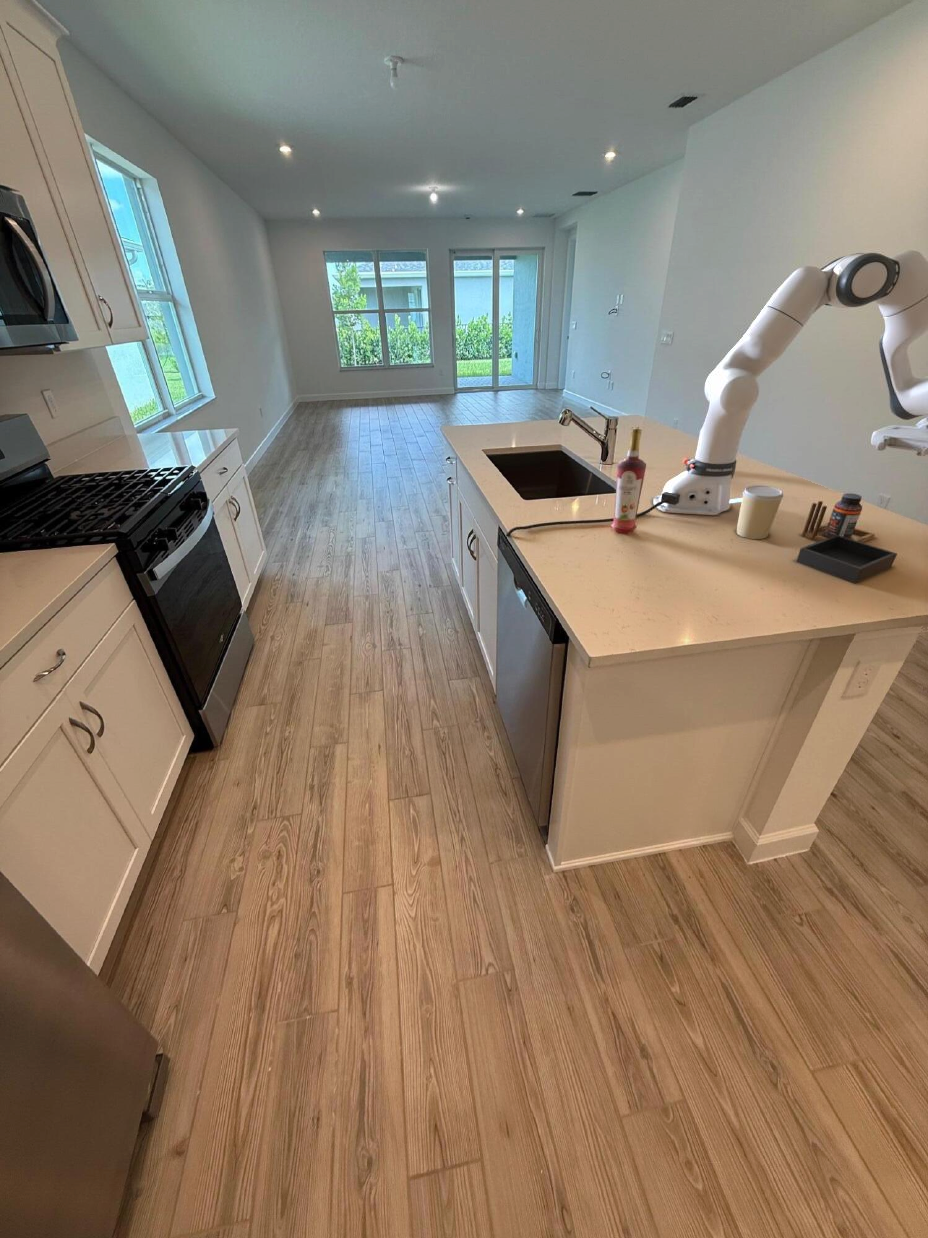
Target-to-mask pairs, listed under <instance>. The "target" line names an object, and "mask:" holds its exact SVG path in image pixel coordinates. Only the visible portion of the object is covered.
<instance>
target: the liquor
mask: <svg viewBox="0 0 928 1238" xmlns="http://www.w3.org/2000/svg"><path fill="white" fill-rule="evenodd" d="M642 430H643V427H639V426H632V427H631V428H630V442H629V447H628V451H627V455H626V457H625V458H624V459H621V460H620V461H619V462H618V463H617V466H616V467H617V470H616V481H615V498H614V499H615V501H614V512H613V518H614V521H612V524H611V528H612V529H613V530H614V531H615V532H616V533H618V534H623V535H625V534H630V533H632V532H633V531H635V530H636V529H637V525H636V521H637V517H636V516H637V514H638V512H639V511H638V510H639V505H640V499H641V494H642V489H643V485H644V480H645V474H646V469H647V463H646V462H645V461H644V460H643V459H641V458H640V440H641V437H642Z"/></svg>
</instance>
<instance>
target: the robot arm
mask: <svg viewBox="0 0 928 1238" xmlns="http://www.w3.org/2000/svg"><path fill="white" fill-rule="evenodd" d="M873 302H875V304H876V305H877V306H878V308H879V311H880V313H881V315H882V318H883V321H884V332H883V333H882V334H881V335H880V338H879V342H878V343H879V344H878V348H879V355H880V359H881V364H882V369H883V372H884V373H883V374H884V376H885V380H886V386H887V388H888V394H889V395H888V396H889V408H890V412H891V413H892V414H893V415H894V416H896V417H897V418H899V419H901V420H905V421H910V420H913V419H916V418H919V417H922V416H925V415H927V414H928V375H926V376H924V377H916V376H914V375H913V373H912V369H911V364H910V358H909V354H908V348H909V346H910V345H911V344H913V342H915V341H916V340H918V339H919V338H920V337H921V336H923V335H924V334H925V333H927V332H928V260H927V258H926V257H924V255H923V254H922V253H921V252H920V251H918V250H914V249H912V250H911V249H910V250H906V251H902V252H900V253H897V254H895V255H893V256H892V257H888V256H886V255H885V254H882V253H877V252H867V253H865V252H856V253H853V254H849V255H845V256H841V257H838V258H836V259H834V260H833V261H831V262H829V263H828V264H826V265H825V266H823V267H821V268H820V267H818V266H812V265H805V266H801V267H798V268H797V269H796V270H795V271H793V272H792V273H791V274H790V276H788V277H787V279H785V281H784V282H783V283H782V284H781V285H780V286H779V288H778V289H777V290H776V291H775V292H774V293H773V295H771V297H770V298H769V300H768V301H767V302H766V304H765V305H764V307H763V308H762V310H761V311H760V313H759V314H758V315H757V316H756V318H755V319H754V321H753V322H752V323H751V325H750V326H749V328H747V330H746V332H745V333H744V334H743V336H742V337H741V338H740V339H739V341H738V342H737V343H736V344H735V345H733V347H732V348H731V349H730V351H729V352H727V354H726V355H725V356H724V358H723V359H722V360H721V361H720V362H719V363H718V364H717V366H716V367H715V368H714V370H713V371H711V372H710V373H709V375H708V376H707V378H706V380H705V383H704V395H705V398H706V400H707V401H708V402H709V405H708V410H707V414H706V416H705V419H704V422H703V426H702V427H701V429H700V430H699V435H698V441H697V445H696V451H695V456H694V457H693V458H691V459H690V458H689V457H684V458H683V459H682V464H683V465H684V466H686V468H685V470H684V471H683V472H681V473H679V474H678V475H676V476H674V477H673V478H670V479H669V480H668V481H667V482H665V485H664V486H663V489H662V491H661V494H657V495H655V496H654V497H653V500H652V502H653V505H652V506H651V507H649V508H648V509H646V510H644V511H642V512H639V513H637V516H636V518H639V517H642V516H644V515H646V514H648V513H651V512H652V511H653V510H655V509H658V510H659V511H661V512H663V513H670V514H685V515H686V514H687V515H703V516H718V515H719V514H720V513H723V512H726V511H728V510H730V508H731V504H735V503H742V498H743V497H739V498H732V499H731V485H732V480H733V478H734V475H735V472H736V468H737V459H736V458H737V455H738V450H739V446H740V443H741V438H742V435H743V431H744V428H745V426H746V424H747V421H748V419H749V417H750V415H751V412H752V409H753V406H754V405H755V404H756V403H757V401H758V398H759V395H760V387H759V386H760V385H759V383H758V378H759V377H760V376H761V375H762V374H763V373H764V372H765V371H766V370H767V369H768V368H769V367H770V366H771V365H772V364H773V363H775V362H776V361H778V359H779V358H781V356H782V355H783V354H784V352H785V351H786V350H787V349H788V347H789V346H790V345H791V344H792V342H793V341H794V340H795V339H796V337H797V336H798V334H799V333H800V332H801V331H802V329H803V328H804V327H805V325H806V324H807V322H808V321H810V318H811V317H812V316H813V314H815V313H816V312H817V311H818V310H819V309H820V308H821V307H823V306H830V307H835V308H839V309H846V308H859V307H862V306H863V307H864V306H866V305H868V304H871V303H873ZM870 444H871V446H874V447H875V451H880V452H881V451H882V452H883V451H884V450H885V451H886V450H887V448H889V449H897V450H904V451H911V452H912V451H913V452H917V453H916V454H915V455H916V456H919V457H926V456H928V416H927V417H924V418H922V419H921V420H919V421H918V422H917V423H915V425H904V424H892V425H891V424H890V425H888V426H885V427H882V428H879V429H877V430H875V431H873V432H872V435H871V439H870ZM609 522H614V517H611V518H603V519H602V518H601V519H585V520H584V519H583V520H562V521H549V522H542V523H535V524H534V523H533V524H529V525H525V526H523V525H522V526H515V527H513V528H510V529H509V530H508V531H507V533H506V534H505V536H506V537H509V536H510V535H511V534H512V533H514V532H515V531H520V530H530V529H534V528H541V527H549V526H561V525H578V524H579V525H580V524H597V523H598V524H599V523H600V524H601V523H609Z"/></svg>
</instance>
